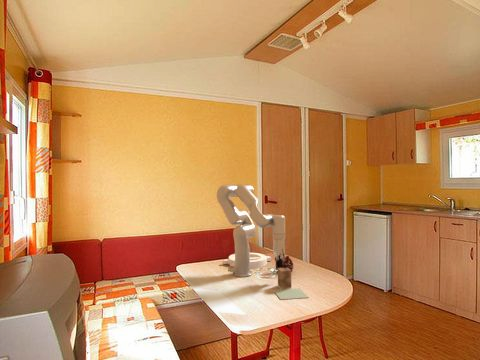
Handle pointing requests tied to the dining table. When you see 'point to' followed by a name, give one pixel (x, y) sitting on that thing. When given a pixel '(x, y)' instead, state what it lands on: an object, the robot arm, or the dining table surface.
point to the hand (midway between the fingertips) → (279, 266)
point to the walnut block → (284, 278)
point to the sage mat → (290, 294)
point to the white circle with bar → (255, 260)
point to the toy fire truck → (285, 263)
